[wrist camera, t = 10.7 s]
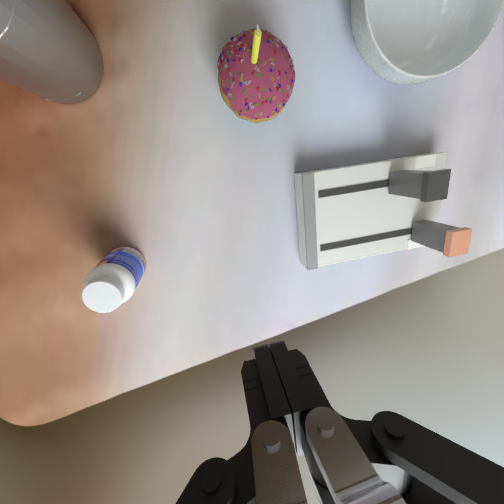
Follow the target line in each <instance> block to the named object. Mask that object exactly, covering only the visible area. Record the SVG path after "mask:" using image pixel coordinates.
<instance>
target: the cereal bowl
mask: <svg viewBox="0 0 504 504" xmlns="http://www.w3.org/2000/svg"><path fill="white" fill-rule="evenodd" d="M503 8H504V0H351V11H350V13H351V28H352V32H353V37H354V41H355V43H356V46H357V48H358V51H359V53H360V55H361V57H362V59H363V60H364V62H365V63H366V64H367V65H368V66H369V68H370V69H372V71H373V72H375V73H376V74H377V75H378V76H380V77H382V78H384V79H386V80H388V81H391V82H395V83H400V84H415V83H421V82H424V81H429V80H431V79H435V78H437V77H440V76H442V75H444V74H447V73H449V72H451V71H453V70H454V69H456V68H458V67H459V66H461V65H462V64H463V63H465V62H466V61H467V60H469V59H470V58H471V57H472V56H473V55H474V54H475V53H476V52H477V51H478V50H479V49H480V47H481V46H482V45H483V44H484V42H485V41H486V40H487V38H488V37H489V35H490V34H491V32H492V31H493V29H494V27H495V25H496V23H497V22H498V20H499V18H500V16H501V13H502V11H503Z"/></svg>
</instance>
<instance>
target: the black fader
mask: <svg viewBox="0 0 504 504" xmlns="http://www.w3.org/2000/svg"><path fill="white" fill-rule="evenodd" d="M450 173H451V169H441V170H435V171H425V170H401V171H395V172H390V175H389V192H388V194H392V195H398V196H404V197H410V198H416V199H420V201H421V202H431V201H436V200H442V199H447V194H448V187H449V180H450Z"/></svg>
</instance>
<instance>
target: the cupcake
mask: <svg viewBox="0 0 504 504" xmlns="http://www.w3.org/2000/svg"><path fill="white" fill-rule="evenodd" d="M256 27H257V28H256V29H252V30H247V31H242V32H241V33H240V34H238V35H236V36H235V37H234V38H233V37H231V38H232V39H230V41H228V43H227V44H226V45H225V46H224V48H223V49H221V53H220V56H219V59H218V69H219V73H218V82H219V87H220V92H221V95H222V98H223V100H224V102H225V103H226V104H227V106H228V107H229V108H230V109H231V110H232V111H233V112H234V113H235V115H236V116H238V117H239V118H242V119H245V120H247V121H250V122H253V123H259V122H263V121H268V120H271V119H273V118H274V117H275V116H277V115H278V114H279V113H280V112H281V111H282V110H283V108H284V107H285V105H286V103H287V101H288V99H289V98H290V95H291V93H292V89H293V86H294V82H295V71H294V65H293V63H292V62H293V59H292V58H291V57H290V55H289V52H288V50H287V48H288V47H287V46H285V45H284V44H283V43H282V42H281V41H280V40H279V39H278V38H276V37H275V36H274V35H272V34H271V33H270V32H267V30H265V31H264V30H260V29H259V25H258V24H256ZM291 59H292V60H291Z"/></svg>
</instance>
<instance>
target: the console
mask: <svg viewBox="0 0 504 504" xmlns="http://www.w3.org/2000/svg"><path fill="white" fill-rule="evenodd" d="M446 158H447V152H441V153H427V154H420V155H414V156H407V157H400V158H394V159H387V160H381V161H374V162H367V163H361V164H354V165H347V166H341V167H334V168H328V169H321V170H314V171H308V172H301V173H295V174H294V180H295V194H296V209H297V223H298V238H299V253H300V262H301V263H302V264H303V265H304V266H305V268H306V269H307V270H311V269H316V268H318V267H320V266H325V265H330V264H335V263H340V262H345V261H350V260H355V259H360V258H365V257H370V256H375V255H380V254H385V253H390V252H395V251H400V250H405V249H412V248H417V247H422V246H424V245H421V244H419V243H416V242H413V241H411V234H412V224H413V222H416V221H422V220H430V221H434V222H438V217H439V209H440V202H441V200H436V201H431V202H421V201H420V199H416V198H410V197H404V196H398V195H392V194H388V192H389V175H390V172H395V171H401V170H425V171H435V170H441V169H445V165H446Z"/></svg>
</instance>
